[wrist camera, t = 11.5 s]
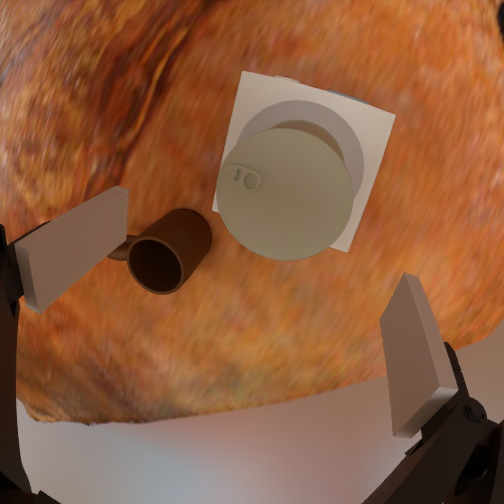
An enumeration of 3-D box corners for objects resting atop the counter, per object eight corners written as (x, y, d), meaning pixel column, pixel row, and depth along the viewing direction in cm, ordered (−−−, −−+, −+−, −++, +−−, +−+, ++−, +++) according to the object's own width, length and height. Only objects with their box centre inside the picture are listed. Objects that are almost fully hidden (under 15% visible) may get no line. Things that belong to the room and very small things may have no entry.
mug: (135, 248, 46) (99, 279, 38) (133, 199, 42) (92, 224, 34) (212, 264, 44) (185, 303, 36) (214, 211, 41) (185, 242, 32)
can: (276, 103, 29) (247, 102, 18) (361, 149, 29) (382, 175, 18) (236, 183, 33) (192, 225, 23) (316, 225, 33) (309, 287, 23)
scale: (251, 69, 32) (239, 64, 28) (390, 110, 31) (400, 111, 26) (220, 201, 40) (206, 215, 35) (346, 240, 38) (348, 259, 34)
